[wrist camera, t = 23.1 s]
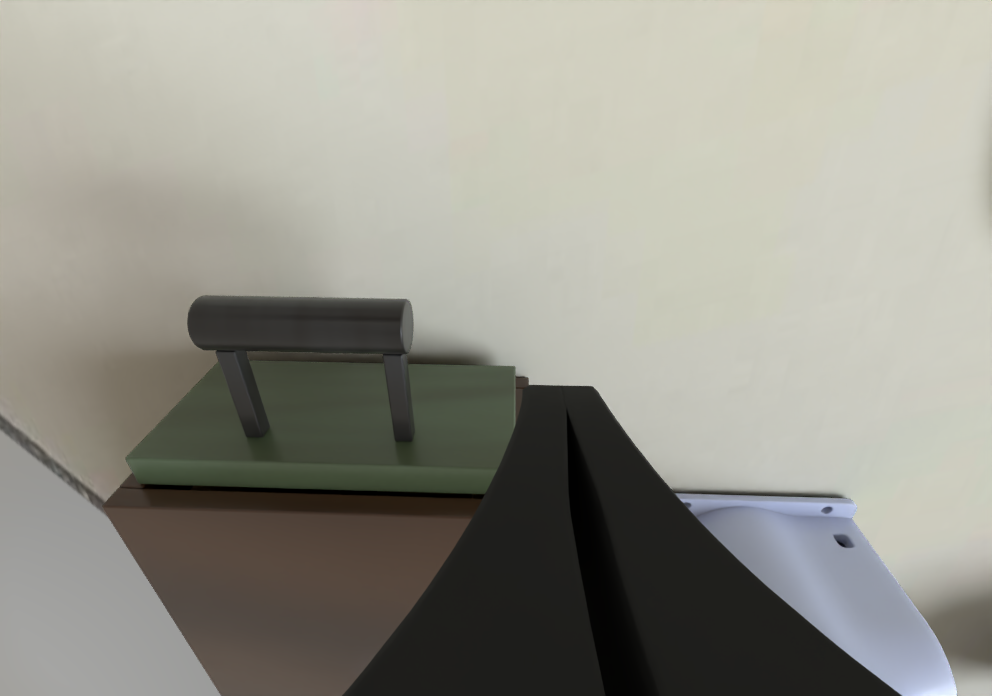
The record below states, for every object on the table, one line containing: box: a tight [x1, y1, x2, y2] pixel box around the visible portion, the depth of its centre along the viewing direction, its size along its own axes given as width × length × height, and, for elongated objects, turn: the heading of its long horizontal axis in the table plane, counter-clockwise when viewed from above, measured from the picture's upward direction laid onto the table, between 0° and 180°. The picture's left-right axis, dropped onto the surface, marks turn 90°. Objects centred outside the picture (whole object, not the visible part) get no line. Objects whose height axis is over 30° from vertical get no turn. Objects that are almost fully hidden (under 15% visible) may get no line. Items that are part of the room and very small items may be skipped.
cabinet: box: [102, 377, 529, 696], centre depth 22 cm, size 14×14×8 cm
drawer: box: [126, 295, 515, 499], centre depth 19 cm, size 18×12×6 cm
